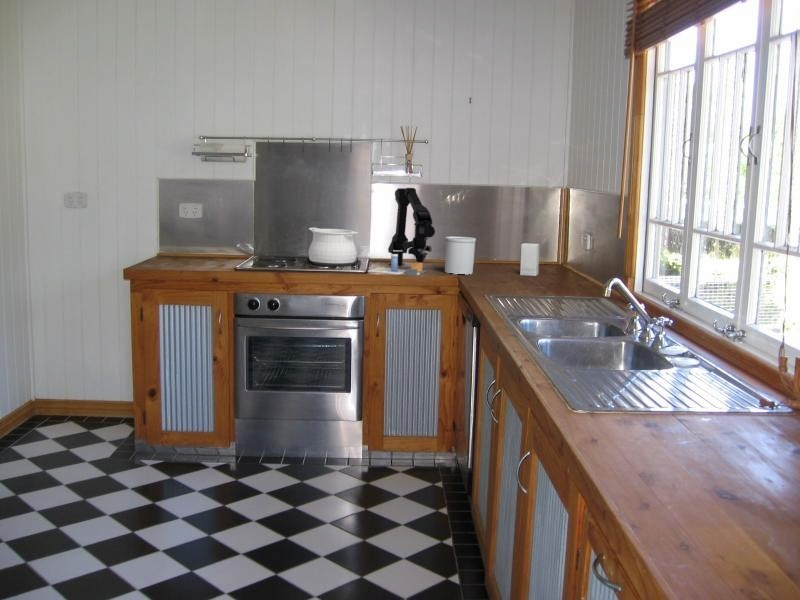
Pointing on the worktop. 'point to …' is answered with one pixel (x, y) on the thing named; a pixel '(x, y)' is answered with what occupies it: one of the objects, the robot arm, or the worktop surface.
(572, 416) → the worktop surface
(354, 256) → the pot
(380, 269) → the sheet
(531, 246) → the skincare box
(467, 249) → the utensil holder
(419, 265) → the orange cube
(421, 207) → the robot arm
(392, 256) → the marker
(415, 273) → the switch base
